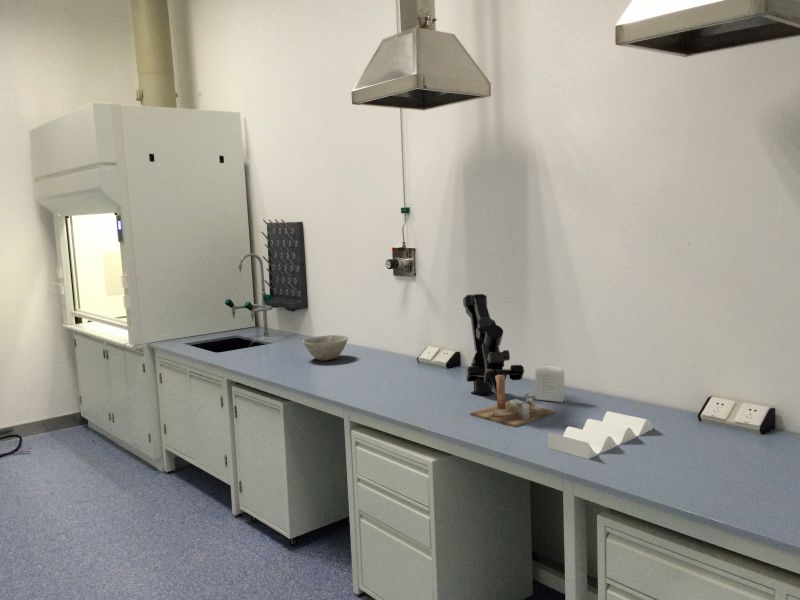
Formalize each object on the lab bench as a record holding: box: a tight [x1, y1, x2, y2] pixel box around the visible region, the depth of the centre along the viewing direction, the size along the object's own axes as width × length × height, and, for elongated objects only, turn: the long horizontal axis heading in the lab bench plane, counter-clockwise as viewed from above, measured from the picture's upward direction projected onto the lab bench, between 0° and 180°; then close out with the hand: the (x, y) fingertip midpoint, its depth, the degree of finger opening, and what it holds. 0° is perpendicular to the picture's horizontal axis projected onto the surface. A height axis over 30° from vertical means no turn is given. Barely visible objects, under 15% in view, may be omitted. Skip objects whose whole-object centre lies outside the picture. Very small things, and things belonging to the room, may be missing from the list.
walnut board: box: [469, 400, 555, 428], centre depth 221 cm, size 19×20×1 cm
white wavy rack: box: [547, 411, 655, 460], centre depth 194 cm, size 13×35×5 cm, turn 131°
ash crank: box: [493, 375, 537, 416], centre depth 218 cm, size 15×4×13 cm, turn 105°
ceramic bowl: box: [301, 334, 349, 362], centre depth 324 cm, size 22×23×10 cm
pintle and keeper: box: [509, 392, 534, 419], centre depth 217 cm, size 8×7×6 cm
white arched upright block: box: [535, 365, 565, 403], centre depth 236 cm, size 10×4×12 cm, turn 60°
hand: (498, 395), depth 218 cm, fingers closed
